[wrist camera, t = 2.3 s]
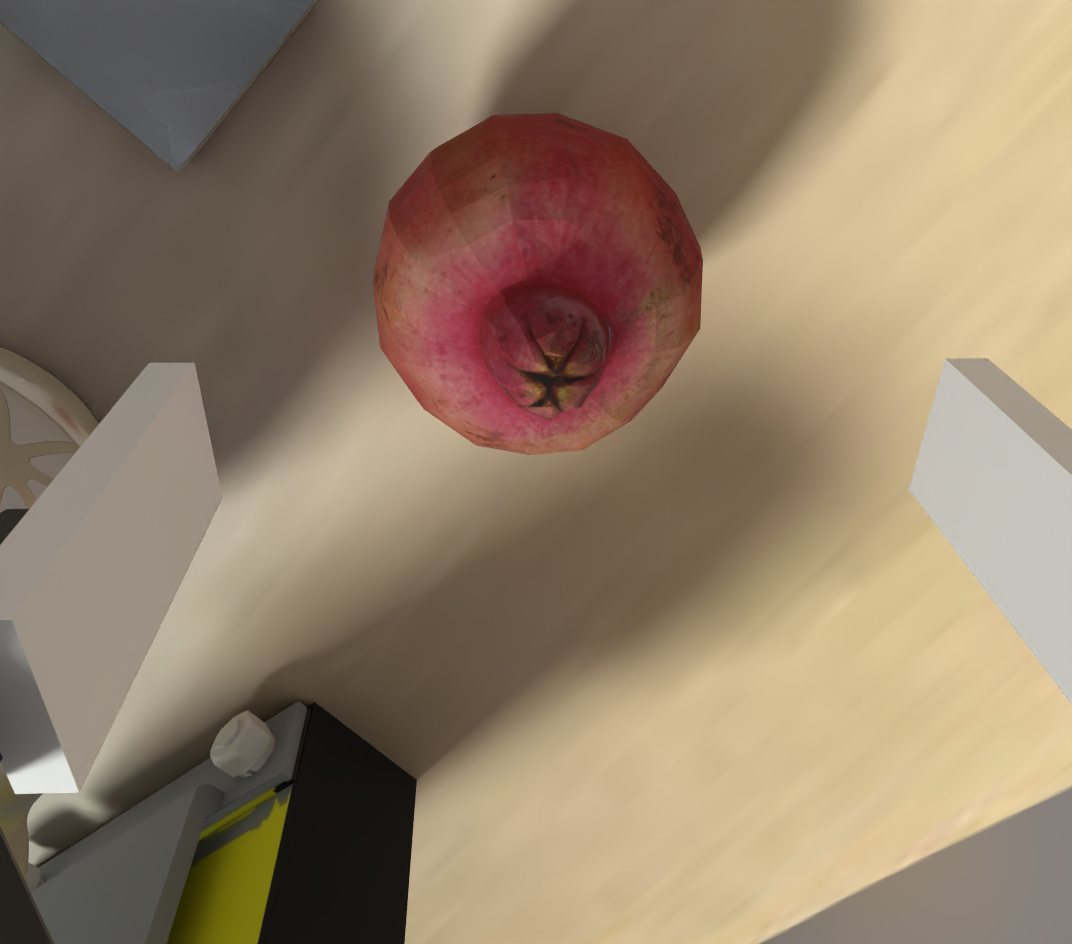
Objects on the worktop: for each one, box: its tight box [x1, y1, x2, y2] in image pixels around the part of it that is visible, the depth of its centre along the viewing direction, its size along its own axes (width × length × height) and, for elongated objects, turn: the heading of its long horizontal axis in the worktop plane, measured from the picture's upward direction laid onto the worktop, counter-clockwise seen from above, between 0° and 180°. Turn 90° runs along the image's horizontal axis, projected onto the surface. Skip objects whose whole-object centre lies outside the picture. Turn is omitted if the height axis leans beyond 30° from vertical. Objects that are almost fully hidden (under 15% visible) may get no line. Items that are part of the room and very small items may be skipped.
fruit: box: [373, 113, 703, 455], centre depth 21 cm, size 8×8×10 cm
